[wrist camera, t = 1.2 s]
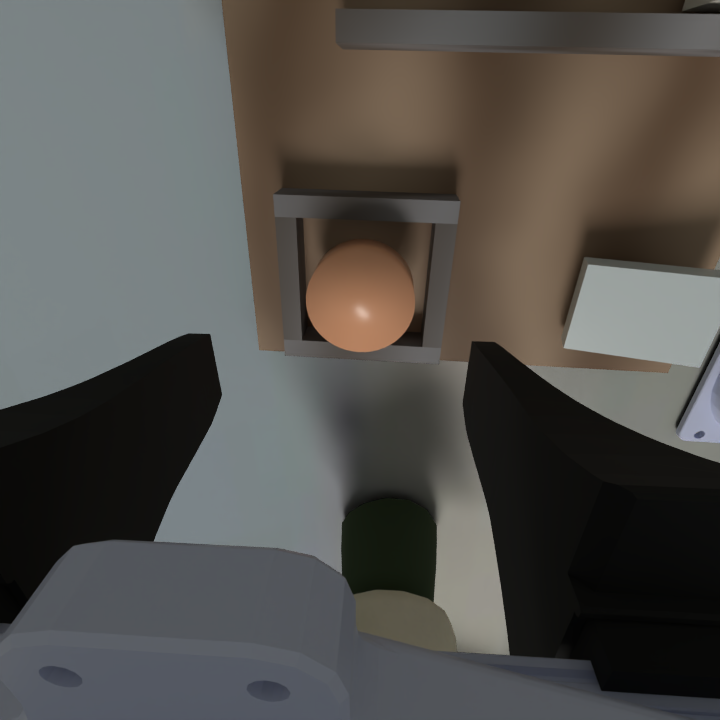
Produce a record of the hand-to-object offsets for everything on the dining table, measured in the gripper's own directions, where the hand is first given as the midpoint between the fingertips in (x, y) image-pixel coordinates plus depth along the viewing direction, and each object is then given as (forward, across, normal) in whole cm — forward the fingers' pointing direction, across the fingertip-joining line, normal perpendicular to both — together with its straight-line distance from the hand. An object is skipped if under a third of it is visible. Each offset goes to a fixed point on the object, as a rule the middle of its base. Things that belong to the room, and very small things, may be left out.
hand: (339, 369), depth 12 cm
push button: (+6, 0, 0) cm, 6 cm away
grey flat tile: (+6, -11, +1) cm, 13 cm away
